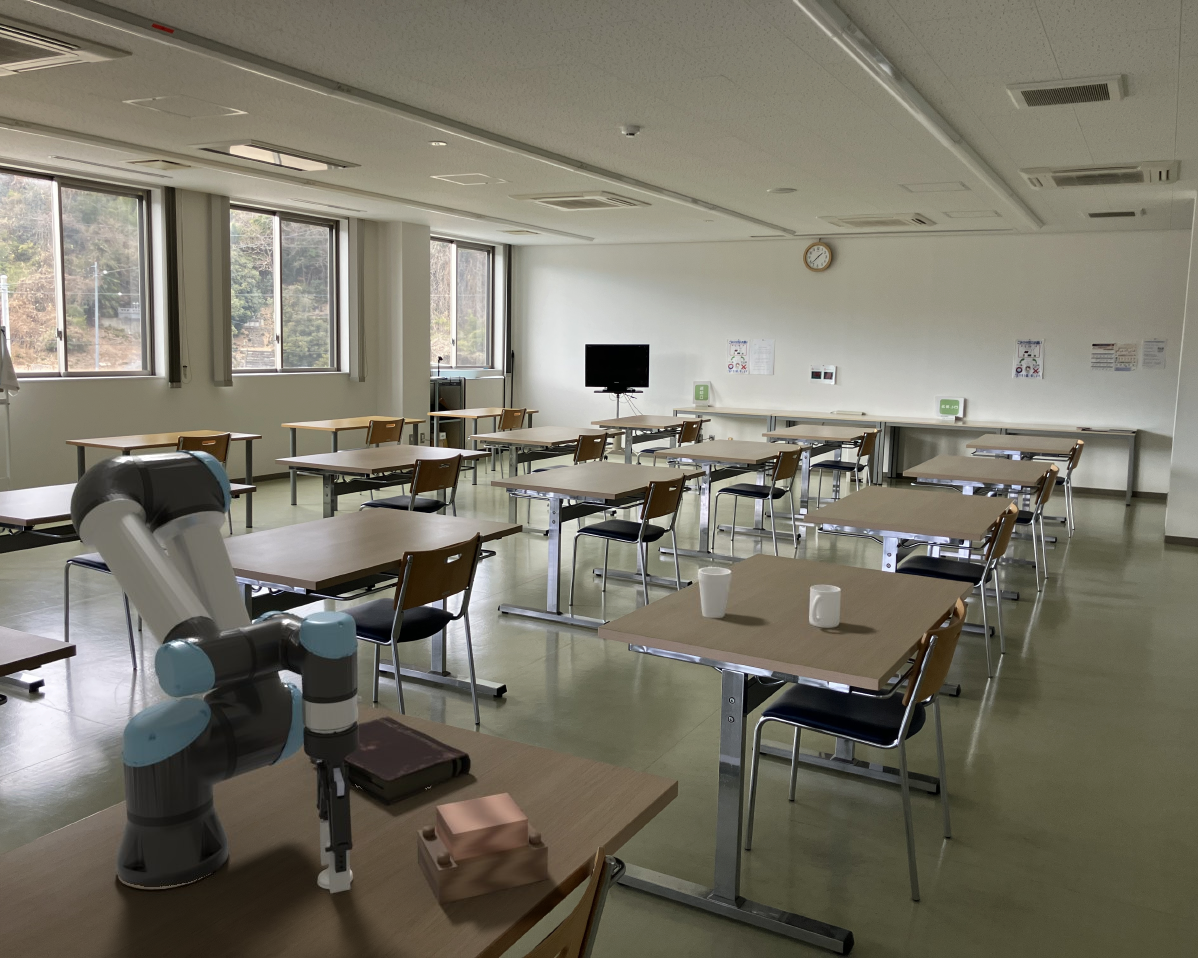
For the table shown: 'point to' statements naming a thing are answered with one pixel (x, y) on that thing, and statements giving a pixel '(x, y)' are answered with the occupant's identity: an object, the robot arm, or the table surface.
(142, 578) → the robot arm
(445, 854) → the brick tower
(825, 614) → the mug
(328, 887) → the chess piece
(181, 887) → the table surface
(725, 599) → the foam cup
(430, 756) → the diary
